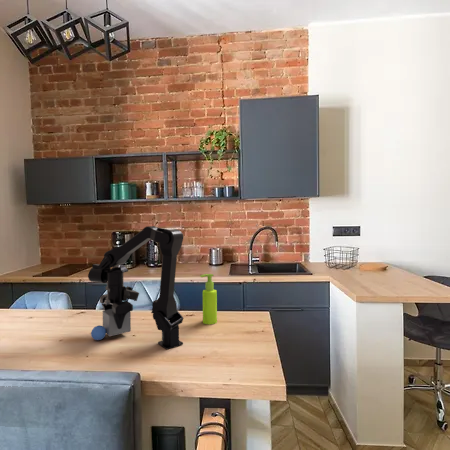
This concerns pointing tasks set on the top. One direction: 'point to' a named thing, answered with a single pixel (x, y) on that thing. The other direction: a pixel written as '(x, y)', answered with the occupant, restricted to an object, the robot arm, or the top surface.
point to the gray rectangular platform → (111, 324)
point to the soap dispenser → (209, 302)
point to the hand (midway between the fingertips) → (115, 325)
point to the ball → (98, 332)
